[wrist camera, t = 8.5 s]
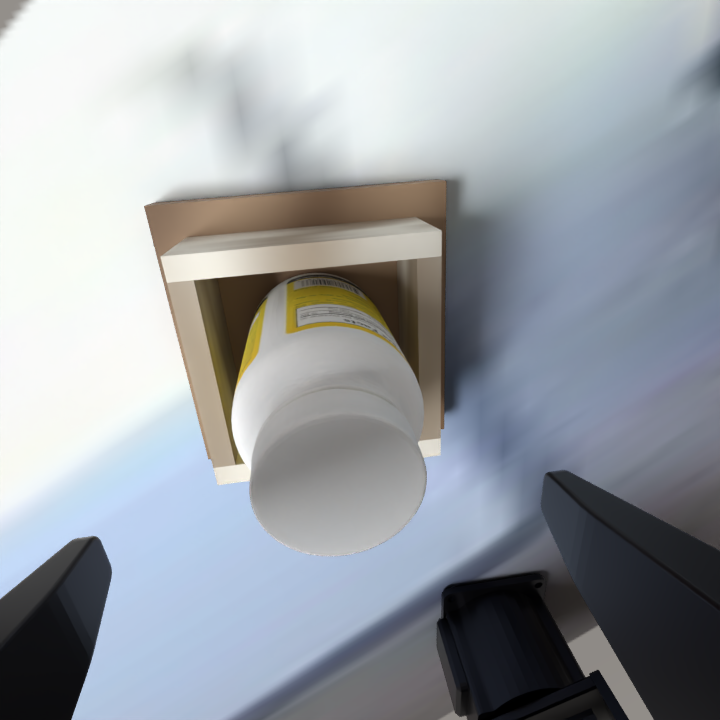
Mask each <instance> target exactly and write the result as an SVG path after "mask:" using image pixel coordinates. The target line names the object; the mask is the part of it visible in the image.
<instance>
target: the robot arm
mask: <svg viewBox="0 0 720 720" xmlns="http://www.w3.org/2000/svg"><path fill="white" fill-rule="evenodd" d="M541 510H542V513H543V516H544V518H545V520H546V522H547V524H548V527H549V529H550V531H551V533H552V535H553V538H554V540H555V542H556V544H557V546H558V549H559V551H560V553H561V555H562V557H563V560H564V562H565V564H566V566H567V568H568V571H569V573H570V575H571V577H572V579H573V581H574V583H575V585H576V587H577V588H578V590H579V592H580V594H581V596H582V597H583V599H584V601H585V602H586V604H587V606H588V608H589V609H590V611H591V613H592V614H593V616H594V618H595V620H596V621H597V623H598V625H599V626H600V628H601V630H602V631H603V633H604V635H605V637H606V638H607V640H608V642H609V643H610V645H611V647H612V649H613V650H614V652H615V654H616V656H617V657H618V659H619V661H620V662H621V664H622V666H623V668H624V669H625V671H626V673H627V674H628V676H629V677H630V680H631V681H632V683H633V685H634V686H635V688H636V690H637V692H638V693H639V695H640V697H641V698H642V700H643V702H644V703H645V705H646V707H647V709H648V710H649V712H650V714H651V715H652V717H653V719H654V720H720V551H719V550H718V549H716V548H714V547H712V546H710V545H708V544H706V543H704V542H702V541H700V540H698V539H697V538H695V537H693V536H691V535H689V534H687V533H685V532H683V531H681V530H679V529H678V528H676V527H674V526H672V525H670V524H668V523H666V522H664V521H662V520H660V519H658V518H657V517H655V516H653V515H651V514H649V513H647V512H645V511H643V510H641V509H639V508H637V507H636V506H634V505H632V504H630V503H628V502H626V501H624V500H622V499H620V498H618V497H616V496H615V495H613V494H611V493H609V492H607V491H605V490H603V489H601V488H599V487H597V486H595V485H594V484H592V483H590V482H588V481H586V480H584V479H582V478H580V477H578V476H576V475H574V474H573V473H571V472H569V471H566V470H559V471H552V472H548V473H546V474H545V476H544V480H543V487H542V495H541ZM111 576H112V569H111V565H110V562H109V560H108V557H107V555H106V552H105V550H104V548H103V545H102V543H101V541H100V539H99V538H98V537H96V536H90V537H83V538H77V539H74V540H72V541H70V542H69V543H68V544H67V545H65V546H64V547H63V548H62V549H61V550H59V551H58V552H57V553H56V554H54V555H53V556H52V557H51V558H50V559H48V560H47V561H46V562H45V563H44V564H42V565H41V566H40V567H39V568H37V569H36V570H35V571H34V572H33V573H31V574H30V575H29V576H28V577H26V578H25V579H24V580H23V581H22V582H20V583H19V584H18V585H17V586H16V587H14V588H13V589H12V590H11V591H9V592H8V593H7V594H6V595H5V596H3V597H2V598H1V599H0V720H71V719H72V716H73V713H74V710H75V707H76V704H77V702H78V699H79V696H80V693H81V690H82V687H83V684H84V681H85V678H86V676H87V672H88V669H89V666H90V663H91V660H92V656H93V652H94V649H95V645H96V640H97V636H98V632H99V628H100V624H101V619H102V615H103V611H104V607H105V603H106V598H107V594H108V590H109V586H110V582H111ZM545 590H546V581H545V579H544V578H543V576H542V575H540V574H534V575H528V576H521V577H515V578H509V579H503V580H496V581H490V582H484V583H478V584H471V585H465V586H459V587H452V588H448V589H446V590H444V591H443V592H442V609H441V618H440V619H439V620H438V622H437V650H438V654H439V657H440V661H441V664H442V668H443V671H444V675H445V678H446V682H447V686H448V689H449V693H450V696H451V700H452V703H453V707H454V710H455V713H456V714H457V715H458V716H459V717H462V716H467V720H629V719H628V717H627V716H626V714H625V713H624V711H623V709H622V708H621V706H620V704H619V703H618V701H617V699H616V698H615V696H614V694H613V693H612V691H611V689H610V688H609V686H608V685H607V683H606V681H605V680H604V678H603V677H602V675H601V673H600V671H599V670H596V671H594V672H592V673H590V674H589V675H590V676H588V677H585V675H584V674H583V672H582V670H581V668H580V666H579V665H578V663H577V661H576V659H575V657H574V656H573V654H572V652H571V650H570V648H569V646H568V645H567V643H566V641H565V639H564V637H563V636H562V634H561V632H560V630H559V628H558V626H557V625H556V623H555V621H554V619H553V617H552V616H551V614H550V612H549V610H548V608H547V606H546V605H545V603H544V596H545Z"/></svg>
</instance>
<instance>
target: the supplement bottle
mask: <svg viewBox="0 0 720 720" xmlns="http://www.w3.org/2000/svg"><path fill="white" fill-rule="evenodd" d="M423 421H424V405H423V397H422V393H421V390H420V387H419V384H418V382H417V379H416V377H415V374H414V372H413V370H412V369H411V367H410V365H409V363H408V362H407V360H406V358H405V356H404V355H403V353H402V351H401V349H400V347H399V346H398V344H397V342H396V340H395V339H394V337H393V335H392V333H391V332H390V330H389V328H388V326H387V324H386V323H385V321H384V319H383V318H382V316H381V314H380V312H379V311H378V309H377V307H376V306H375V304H374V303H373V302H372V300H371V299H370V298H369V297H368V295H367V294H366V293H365V292H364V291H363V290H362V289H360V288H359V287H358V286H357V285H355V284H354V283H352V282H350V281H349V280H347V279H344V278H342V277H339V276H336V275H332V274H326V273H307V274H302V275H298V276H295V277H292V278H290V279H287V280H285V281H283V282H282V283H280V284H278V285H277V286H276V287H274V288H273V289H272V290H271V291H270V292H269V293H268V294H267V295H266V296H265V297H264V298H263V300H262V301H261V303H260V304H259V306H258V307H257V309H256V311H255V314H254V317H253V319H252V322H251V325H250V329H249V334H248V338H247V343H246V347H245V351H244V355H243V359H242V364H241V368H240V372H239V376H238V380H237V384H236V389H235V394H234V399H233V406H232V418H231V422H232V432H233V437H234V441H235V444H236V447H237V449H238V452H239V454H240V456H241V458H242V459H243V461H244V463H245V464H246V466H247V467H248V468H249V469H250V470H251V475H250V486H249V494H250V500H251V505H252V508H253V511H254V514H255V516H256V518H257V520H258V521H259V523H260V524H261V526H262V527H263V528H264V530H265V531H266V532H267V533H269V534H270V535H271V536H272V537H273V538H274V539H275V540H277V541H278V542H280V543H281V544H283V545H285V546H287V547H289V548H291V549H293V550H296V551H299V552H302V553H306V554H310V555H317V556H342V555H350V554H354V553H359V552H362V551H365V550H368V549H371V548H373V547H375V546H377V545H380V544H382V543H383V542H385V541H387V540H389V539H390V538H392V537H393V536H394V535H396V534H397V533H398V532H400V531H401V530H402V529H403V528H404V527H405V526H406V525H407V524H408V523H409V521H410V520H411V519H412V517H413V516H414V515H415V514H416V512H417V510H418V508H419V507H420V505H421V503H422V500H423V497H424V494H425V489H426V482H427V472H426V466H425V462H424V458H423V455H422V453H421V450H420V447H419V445H418V442H419V439H420V436H421V433H422V428H423Z"/></svg>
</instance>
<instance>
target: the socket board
mask: <svg viewBox="0 0 720 720" xmlns="http://www.w3.org/2000/svg"><path fill="white" fill-rule="evenodd" d="M144 208H145V211H146V215H147V219H148V223H149V227H150V231H151V235H152V239H153V243H154V247H155V251H156V255H157V259H158V263H159V267H160V270H161V274H162V278H163V282H164V286H165V290H166V294H167V298H168V302H169V306H170V310H171V314H172V318H173V322H174V325H175V329H176V333H177V337H178V341H179V345H180V349H181V353H182V357H183V361H184V365H185V369H186V373H187V377H188V380H189V384H190V388H191V392H192V396H193V400H194V404H195V408H196V412H197V416H198V420H199V424H200V428H201V432H202V435H203V439H204V443H205V447H206V451H207V455H208V459H211V460H212V464H213V468H214V472H215V476H216V480H217V484H218V485H223V484H230V483H237V482H245V481H250V475H251V470H250V469H249V468H248V467H247V466H246V464H245V463H244V461H243V459H242V458H241V456H240V454H239V452H238V449H237V447H236V444H235V441H234V437H233V432H232V422H231V418H232V406H233V399H234V394H235V389H236V384H237V380H238V376H239V372H240V368H241V364H242V359H243V355H244V351H245V347H246V343H247V338H248V334H249V329H250V325H251V322H252V319H253V317H254V314H255V311H256V309H257V307H258V306H259V304H260V303H261V301H262V300H263V298H264V297H265V296H266V295H267V294H268V293H269V292H270V291H271V290H272V289H273V288H274V287H276V286H277V285H278V284H280V283H282V282H283V281H285V280H287V279H290V278H292V277H295V276H298V275H302V274H307V273H326V274H332V275H336V276H339V277H342V278H344V279H347V280H349V281H350V282H352V283H354V284H355V285H357V286H358V287H359V288H360V289H362V290H363V291H364V292H365V293H366V294H367V295H368V297H369V298H370V299H371V300H372V302H373V303H374V304H375V306H376V307H377V309H378V311H379V312H380V314H381V316H382V318H383V319H384V321H385V323H386V324H387V326H388V328H389V330H390V332H391V333H392V335H393V337H394V339H395V340H396V342H397V344H398V346H399V347H400V349H401V351H402V353H403V355H404V356H405V358H406V360H407V362H408V363H409V365H410V367H411V369H412V370H413V372H414V374H415V377H416V379H417V382H418V384H419V387H420V390H421V393H422V397H423V405H424V421H423V428H422V433H421V436H420V439H419V442H418V445H419V447H420V450H421V453H422V455H423V458H424V457H431V456H438V455H440V442H441V429H444V386H445V284H446V181H444V180H438V179H437V180H425V181H413V182H401V183H388V184H376V185H364V186H352V187H340V188H328V189H316V190H304V191H291V192H279V193H267V194H255V195H243V196H231V197H219V198H206V199H194V200H182V201H170V202H158V203H152V204H149V205H146V206H144Z"/></svg>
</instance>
